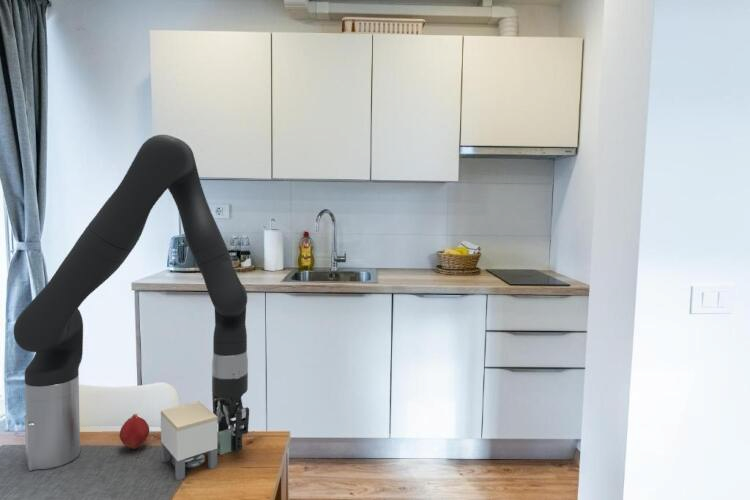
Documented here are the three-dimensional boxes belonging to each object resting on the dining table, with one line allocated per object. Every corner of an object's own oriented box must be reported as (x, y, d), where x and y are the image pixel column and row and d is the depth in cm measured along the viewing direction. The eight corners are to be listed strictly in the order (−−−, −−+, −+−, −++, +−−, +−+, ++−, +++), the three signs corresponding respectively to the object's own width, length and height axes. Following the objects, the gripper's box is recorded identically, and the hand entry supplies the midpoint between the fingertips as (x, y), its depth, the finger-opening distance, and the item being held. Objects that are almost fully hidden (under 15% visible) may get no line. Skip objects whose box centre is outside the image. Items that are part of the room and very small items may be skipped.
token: (195, 469, 95) (194, 466, 95) (177, 466, 97) (177, 462, 97) (209, 459, 100) (209, 455, 100) (192, 456, 101) (192, 452, 101)
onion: (114, 450, 102) (113, 415, 101) (138, 439, 107) (137, 406, 106) (131, 457, 99) (130, 421, 98) (154, 446, 104) (154, 411, 103)
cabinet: (177, 480, 91) (177, 427, 90) (161, 459, 99) (160, 410, 98) (217, 466, 96) (217, 416, 96) (198, 447, 104) (198, 401, 103)
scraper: (180, 473, 94) (179, 451, 94) (171, 462, 98) (171, 442, 97) (245, 450, 103) (245, 431, 103) (235, 441, 107) (235, 423, 107)
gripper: (200, 366, 105) (200, 437, 106) (227, 384, 94) (227, 463, 96) (232, 359, 110) (231, 428, 111) (261, 376, 99) (260, 452, 101)
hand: (229, 444), depth 103 cm, fingers open, 6 cm apart
